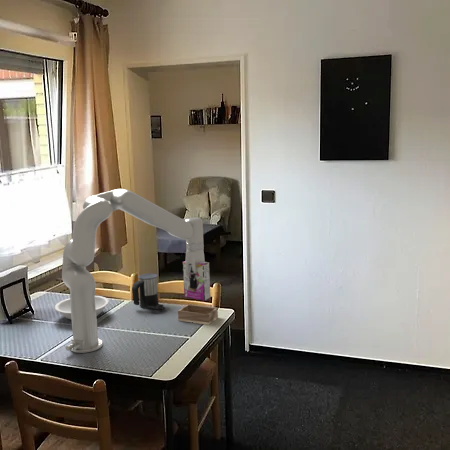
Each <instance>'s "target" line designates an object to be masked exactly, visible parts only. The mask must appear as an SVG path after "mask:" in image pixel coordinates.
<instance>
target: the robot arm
mask: <svg viewBox="0 0 450 450" xmlns="http://www.w3.org/2000/svg"><path fill="white" fill-rule="evenodd" d="M82 208H83V209H82V211H81V212H80V213H79V215H77V217H76V220H75V221H74V225H73V226H74V227H73V233H72V238H71V239H69V240H68V241H67V243H65V245H64V248H63V251H62V252H63V254H62V267H61V268H62V269H61V278H62V282H63V284H64V285H65V286H66V287H67V288H68V289H69V293H70V295H69V298H70V310H71V319H70V320H71V328H72V329H71V331H72V339H71V343H69V344H67V345H66V346H65V350H66V351H68V352H69V351H71V352H72V353H77V354H84V353H85V354H86V353H90V352H91V353H93V352H94V351H97V350H100V349H101V348H102V347H103V345H104V342H103V340H102V339H100V338H99V332H98V331H99V330H98V321H97V316H96V306H95V296H96V280H95V278H94V275H93V274H92V273H91V271H88V269H87V267H88V266H89V265H91V264H92V263H93V261H94V259H95V250H96V240H97V237H96V236H97V230H98V228H99V226H100V225H101V224H102V222H105V221H106V220H108V219H109V218H110V217H111V215H112V213H113V212H115V211H117V210H120V211H122V212H124V213H126V214H128V215H130V216H132V217H133V218H135V219H137V220H139V221H142V222H143V223H145V224H148V225H149V226H152V227H155V228H158V229H161V230H164V231H165V232H167V233H168V235H170V236H172V237H175V238H178V239H180V240H184V241H185V247H186V252H185V268H186V273H187V276H188V277H189V280H190V288H193V289H197V280H196V273H197V270H198V264H199V263H201V262H202V261H203V262H206V261H205V253H204V249H205V248H204V247H205V245H204V226H203V224H204V223H203V219H202V218H201V217H195V216H193V217H188V218H181V217H180V216H178V215H176V214H174V213H172V212H170V211H168V210H166V209H165V208H163V207H161V206H159V205H158V204H156V203H154V202H151V201H150V200H148V199H146V198H145V197H143V196H140V195H139V194H137V193H135V192H134V191H131V190H129V189H124V188H117V189H112V190H110V191H106V192H101V193H98V194H94V195H92V196H88V197H87V198H86V199H85V200H84V202H83V205H82ZM191 271H194V272H193V273H192V272H191ZM192 274H194V276H193V275H192Z"/></svg>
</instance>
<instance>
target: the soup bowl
mask: <svg viewBox="0 0 450 450" xmlns="http://www.w3.org/2000/svg"><path fill="white" fill-rule="evenodd" d="M109 303H110V300H109V298H107V297H105V296H102V295H95V306H96V317H97V316H99V315H100V314H101V313H102V312H104V309H105V308H106V307H107V306H108V305H109ZM54 310H55V311H56V312H59V314H60V315H62V317H64V318H66V319H68V320H71V310H70V297H68V298H67V299H62V300H61V301H58V302H57V303H56V304H55V306H54Z"/></svg>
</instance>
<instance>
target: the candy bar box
mask: <svg viewBox="0 0 450 450" xmlns="http://www.w3.org/2000/svg"><path fill="white" fill-rule="evenodd" d="M185 261H186V260H185ZM185 261H182V274H183V276H182V277H183V293H184V298H189V299H192V300H193V299H194V300H200V301H204V302H205V301H208V300H209V299H210V298H211V277H210V275H211V274H210V262H207V261H205V262H203V261H202V262H201V263H199V264H198V270H197V273H196V280H197V289H193V288H190V280H189V277H188V276H187V273H186V268H185ZM191 272H192V273H193V272H194V271H191ZM192 275H193V276H194V274H192Z"/></svg>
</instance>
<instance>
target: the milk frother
mask: <svg viewBox="0 0 450 450" xmlns="http://www.w3.org/2000/svg"><path fill="white" fill-rule="evenodd" d="M157 277H158V274H157V273H156V274H155V273H143V274H140V275H138V276H137V278H138V280H137V281H136V282H134V283H133V284H132V288H131V292H132V299H133V301H132V302H133V304H134V305H135V306H139V307H140V308H143V309H155V310H158V311H160V312H162V311H163V310H166V307H165V306H163V304H159V295H158V278H157Z"/></svg>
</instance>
